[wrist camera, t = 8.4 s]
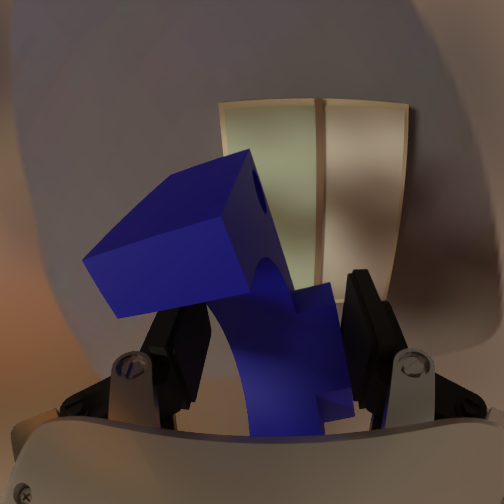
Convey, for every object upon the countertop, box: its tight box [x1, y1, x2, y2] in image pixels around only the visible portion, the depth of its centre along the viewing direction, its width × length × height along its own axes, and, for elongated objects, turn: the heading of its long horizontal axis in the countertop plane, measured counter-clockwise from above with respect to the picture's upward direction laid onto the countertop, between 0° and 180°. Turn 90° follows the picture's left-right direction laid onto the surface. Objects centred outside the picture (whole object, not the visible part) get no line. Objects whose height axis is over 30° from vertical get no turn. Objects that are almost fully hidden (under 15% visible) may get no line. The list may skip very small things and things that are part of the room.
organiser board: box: [219, 98, 409, 303], centre depth 19 cm, size 14×11×2 cm
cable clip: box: [82, 148, 355, 437], centre depth 10 cm, size 12×4×6 cm, turn 18°
